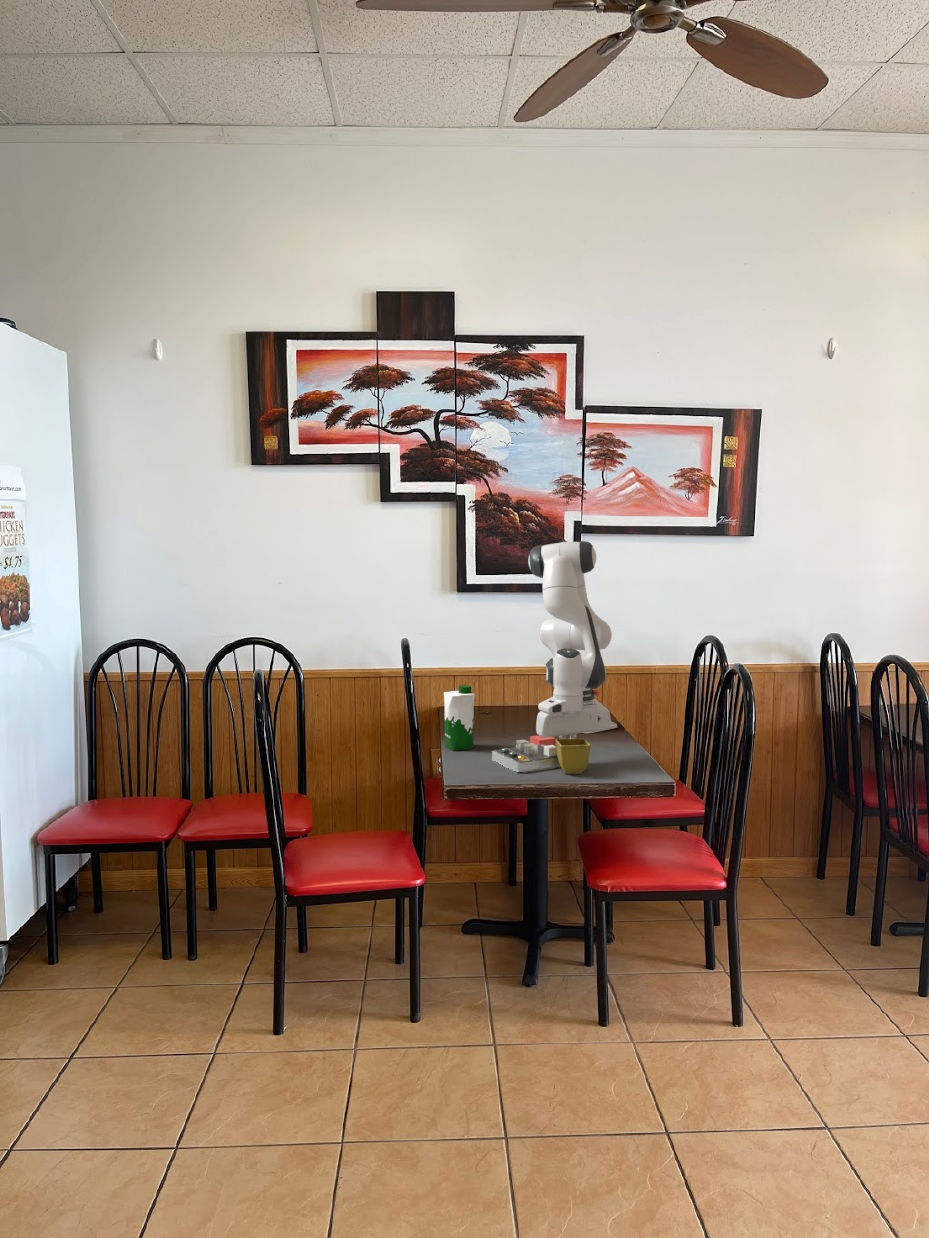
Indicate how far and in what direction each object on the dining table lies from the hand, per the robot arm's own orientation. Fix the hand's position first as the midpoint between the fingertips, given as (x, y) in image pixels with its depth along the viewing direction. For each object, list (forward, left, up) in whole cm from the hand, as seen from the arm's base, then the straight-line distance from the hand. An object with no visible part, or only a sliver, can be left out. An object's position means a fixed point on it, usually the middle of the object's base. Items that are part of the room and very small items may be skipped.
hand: (567, 748), depth 275 cm
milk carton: (+21, -32, -5) cm, 39 cm away
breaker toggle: (+6, 0, -1) cm, 6 cm away
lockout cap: (-2, -18, -4) cm, 19 cm away
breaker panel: (+10, -5, -4) cm, 12 cm away
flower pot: (+4, +9, -5) cm, 11 cm away
